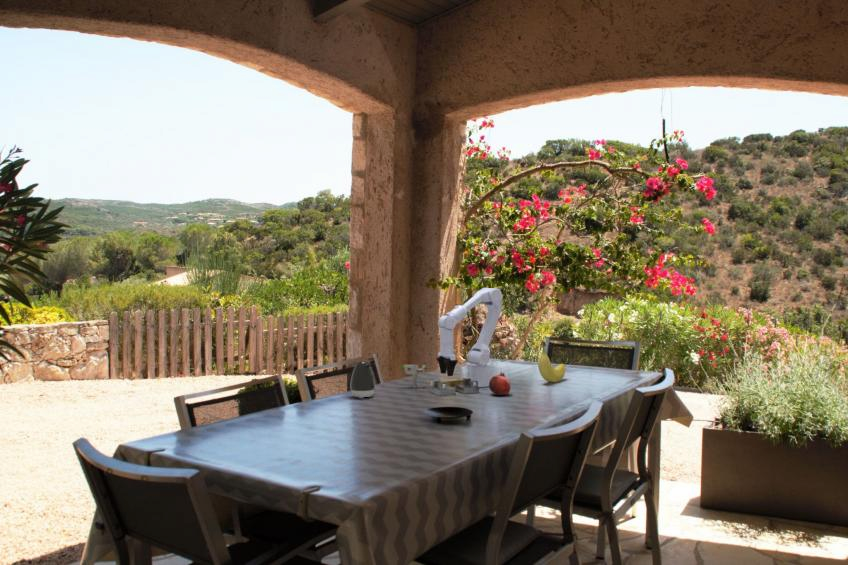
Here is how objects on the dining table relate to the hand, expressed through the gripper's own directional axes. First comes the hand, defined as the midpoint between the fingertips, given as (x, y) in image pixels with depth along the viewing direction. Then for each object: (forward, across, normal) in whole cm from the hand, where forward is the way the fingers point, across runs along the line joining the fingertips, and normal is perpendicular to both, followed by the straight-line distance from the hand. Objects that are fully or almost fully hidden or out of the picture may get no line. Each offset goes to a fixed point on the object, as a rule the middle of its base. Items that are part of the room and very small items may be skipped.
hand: (446, 374), depth 310 cm
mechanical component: (+6, -8, -12) cm, 16 cm away
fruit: (+6, +21, +15) cm, 27 cm away
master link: (+6, 0, 0) cm, 7 cm away
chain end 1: (+6, +9, -5) cm, 12 cm away
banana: (+6, +3, +51) cm, 52 cm away
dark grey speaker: (+7, +4, -39) cm, 40 cm away
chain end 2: (+6, +9, +6) cm, 12 cm away
